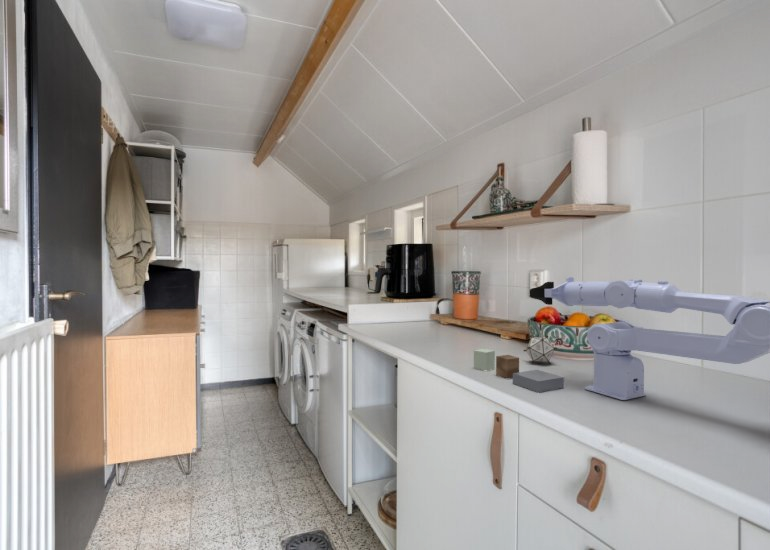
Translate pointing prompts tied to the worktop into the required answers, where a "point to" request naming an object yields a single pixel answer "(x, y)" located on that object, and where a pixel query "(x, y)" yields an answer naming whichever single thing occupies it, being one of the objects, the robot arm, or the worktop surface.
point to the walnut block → (507, 365)
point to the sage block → (484, 359)
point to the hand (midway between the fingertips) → (540, 293)
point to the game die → (540, 349)
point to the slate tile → (538, 380)
